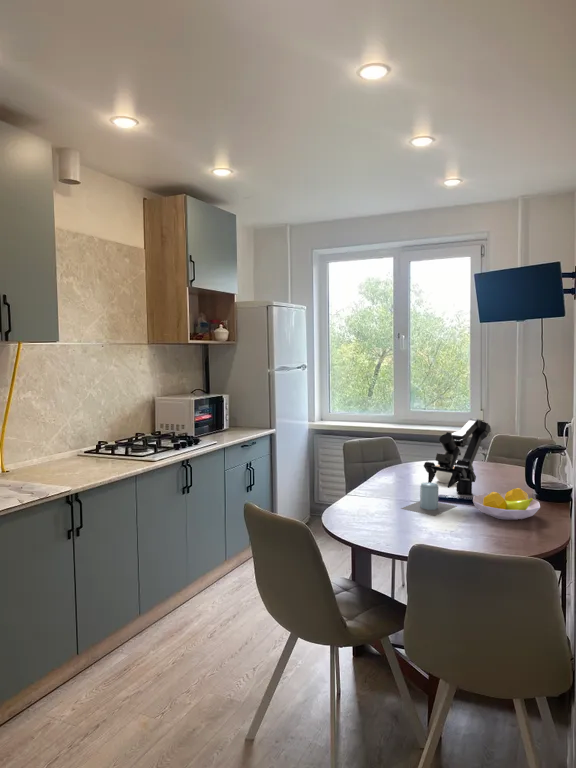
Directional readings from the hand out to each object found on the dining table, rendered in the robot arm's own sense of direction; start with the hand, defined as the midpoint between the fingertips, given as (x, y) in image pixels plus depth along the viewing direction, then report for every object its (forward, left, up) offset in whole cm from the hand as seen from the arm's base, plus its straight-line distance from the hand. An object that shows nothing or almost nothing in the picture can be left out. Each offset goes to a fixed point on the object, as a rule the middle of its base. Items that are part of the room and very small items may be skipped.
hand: (438, 485), depth 255 cm
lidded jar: (-5, -45, -9) cm, 46 cm away
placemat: (+4, +7, -8) cm, 12 cm away
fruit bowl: (-27, +11, -9) cm, 30 cm away
